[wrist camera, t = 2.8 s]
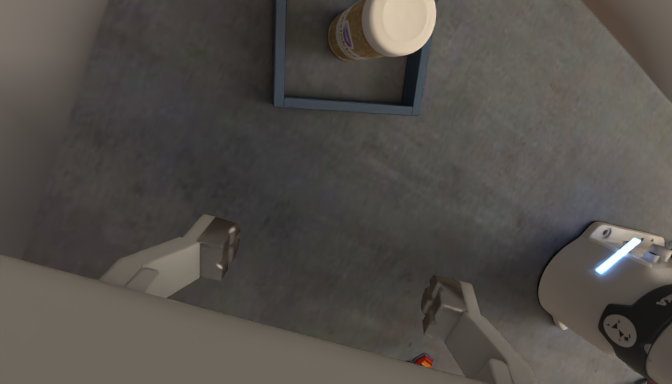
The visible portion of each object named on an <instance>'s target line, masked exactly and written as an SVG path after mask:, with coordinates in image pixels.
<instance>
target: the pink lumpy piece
mask: <svg viewBox="0 0 672 384" xmlns="http://www.w3.org/2000/svg"><path fill="white" fill-rule="evenodd" d="M647 384H658V383H657V382H655V381H650V380H648V382H647Z"/></svg>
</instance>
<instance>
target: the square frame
mask: <svg viewBox="0 0 672 384" xmlns="http://www.w3.org/2000/svg"><path fill="white" fill-rule="evenodd" d="M434 2H435V6H436V9H437V2H438V0H434ZM286 8H287V0H274V44H273V93H272V104H273V106H274V107H286V108H301V109H316V110H332V111H347V112H363V113H378V114H393V115H409V116H419V115H420V109H421V103H422V97H423V90H424V84H425V78H426V72H427V65H428V59H429V53H430V46H431V40H432V34H433V31H432V34H431V36H430V37H429V39H428V40H427V42H426V43H425V44H424V45H423V46H422V47H421V48H420V49H419V50H417V51H415V52H414V53H411V54H408V61H407V68H406V75H405V82H404V89H403V96H402V103H401V104H390V103H377V102H363V101H349V100H336V99H322V98H309V97H295V96H284V73H285V40H286Z"/></svg>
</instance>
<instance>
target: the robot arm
mask: <svg viewBox="0 0 672 384" xmlns="http://www.w3.org/2000/svg"><path fill="white" fill-rule="evenodd" d="M240 226H241V225H240V224H239V223H236V222H232V221H229V220H225V219H222V218H218V217H214V216H210V215H207V214H204V215H202V216H201V217H200V218H199V219H198V220H197V221H196V223H195V224H194V225H193V226H192V227H191V228H190V230H189V231H188V232H187V233H186V234H185V235H184V237H183V238H182V237H177V238H175V239H172V240H169V241H167V242H164V243H161V244H158V245H156V246H153V247H150V248H148V249H145V250H142V251H140V252H137V253H134V254H131V255H129V256H126V257H123V258H121V259H119V260H118V261H117V262H116V263H115V264H114V265H113V266H112V267H111V268H110V269H109V270H107V271H106V272H105V273H104V274H103V275H102V276H101V277H100V278H99V279H98V280H95V279H91V278H88V277H84V276H80V275H76V274H72V273H69V272H65V271H61V270H57V269H54V268H50V267H46V266H42V265H38V264H35V263H31V262H27V261H23V260H19V259H16V258H12V257H9V256H6V255H2V254H0V384H537V381H536V379H535V376H534V374H533V371H532V368H531V367H530V366H529V365H528V364H527V363H526V362H525V360H524V359H523V358H522V357H521V356H520V355H519V354H518V353H517V352H516V351H515V350H514V348H513V347H512V346H511V345H510V344H509V343H508V342H507V341H506V340H505V339H504V338H503V336H502V335H501V334H500V333H499V332H498V331H497V330H496V329H495V328H494V327H493V326H492V324H491V323H490V322H489V321H488V320H487V319H486V318H485V317H482V316H481V314H480V310H479V307H478V303H477V300H476V297H475V293H474V290H473V287H472V285H471V284H470V283H466V282H462V281H457V280H453V279H449V278H445V277H441V276H437V275H433V276H432V278H431V279H430V287H428V288H426V289H425V291H424V293H423V296H422V300H421V311H422V313H423V314H424V315H425V317H424V319H423V320H422V321H423V330H424V335H426V336H430V337H433V338H437V339H440V340H443V341H445V344H446V345H447V347H448V349H449V350H450V352H451V353H452V355H453V357H454V358H455V360H456V362H457V363H458V365H459V366H460V368H461V370H462V371H463V373H464V375H465V376H466V377H463V376H459V375H455V374H451V373H448V372H444V371H440V370H436V369H432V368H428V367H425V366H421V365H417V364H413V363H409V362H406V361H402V360H398V359H394V358H391V357H387V356H383V355H379V354H375V353H372V352H368V351H364V350H360V349H357V348H353V347H349V346H345V345H342V344H338V343H334V342H330V341H326V340H323V339H319V338H315V337H311V336H307V335H304V334H300V333H296V332H292V331H288V330H285V329H281V328H277V327H273V326H269V325H266V324H262V323H258V322H254V321H250V320H247V319H243V318H239V317H235V316H231V315H228V314H224V313H220V312H216V311H213V310H209V309H205V308H201V307H197V306H194V305H190V304H186V303H182V302H178V301H175V300H171V299H167V297H169V296H170V295H172V294H174V293H175V292H177V291H179V290H180V289H182V288H183V287H185V286H187V285H188V284H190V283H192V282H193V281H195V280H197V279H198V278H200V277H205V278H209V279H213V280H217V281H221V280H222V278H223V277H224V275H225V273H226V272H227V270H228V263H231V262H233V260H234V258H235V256H236V254H237V251H238V247H239V241H240V240H239V238H238V234H239V233H240ZM538 296H539V301H540V304H541V306H542V307H543V308H544V309H545V310H546V311H547V312H548V313H550V314H551V315H552V317H553V320H554V323H555V325H556V326H558V327H559V328H561V329H563V330H565V329H570V330H572V331H573V332H575V333H576V334H578V335H579V336H580V337H582V338H583V339H585V340H586V341H588V342H589V343H591V344H592V345H593V346H595V347H596V348H598V349H599V350H601V351H602V352H604V353H605V354H607V355H616V356H617V357H618V358H619V359H621V360H622V361H623V362H625V363H626V364H627V366H629V367H630V368H631V369H632V370H634V371H635V372H637V373H639V374H640V375H642V376H643V377H645V378H646V379H648V380H650V381H655V382H657V383H658V384H672V249H669V248H667V247H664V239H663V238H662V237H660V236H658V235H656V234H652V233H647V232H643V231H639V230H634V229H630V228H625V227H621V226H617V225H612V224H608V223H603V222H594V223H593V224H591V225H590V226H589V227H588V228H587V229H586V230H585V232H584V233H583V234H582V235H581V236H580V237H579V238H577V239H576V240H574V241H573V242H571V243H570V244H568V245H567V246H565V247H564V248H563V249H562V250H560V251H559V252H558V253H557V254H556V255H555V256H554V258H553V259H552V260H551V261H550V263H549V264H548V266H547V267H546V269H545V271H544V273H543V275H542V277H541V280H540V284H539V290H538Z"/></svg>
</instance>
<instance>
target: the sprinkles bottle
mask: <svg viewBox="0 0 672 384" xmlns="http://www.w3.org/2000/svg"><path fill="white" fill-rule="evenodd" d="M435 21H436V6H435V2H434V0H361V1H360V2H358V3H355V4H354V5H352V6H351V7H350V8H348V9H347V10H346V11H344V12H343V13H341V14H339V15H338V16H336V17H335V18H334V20H333V21H332V22H331V24H330V26H329V30H328V43H329V47H330V48H331V50H332V52H333V53H334V54H335V55H336V56H337V57H338V58H340V59H342V60H344V61H355V60H361V59H369V58H376V57H382V56H389V57H397V56H404V55H408V54H411V53H414V52H415V51H417V50H419V49H420V48H421V47H422V46H423V45H424V44H425V43H426V42H427V40H428V39H429V37H430V36H431V34H432V31H433V29H434V25H435Z"/></svg>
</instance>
